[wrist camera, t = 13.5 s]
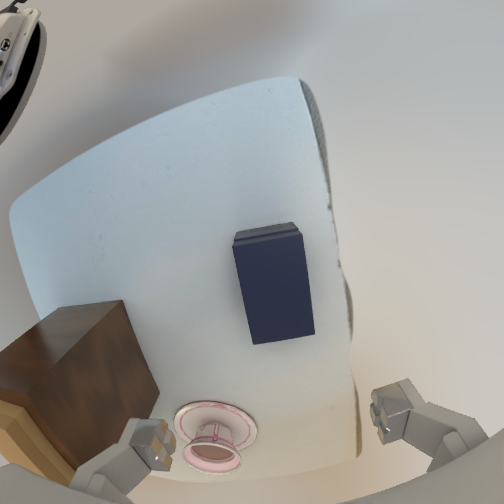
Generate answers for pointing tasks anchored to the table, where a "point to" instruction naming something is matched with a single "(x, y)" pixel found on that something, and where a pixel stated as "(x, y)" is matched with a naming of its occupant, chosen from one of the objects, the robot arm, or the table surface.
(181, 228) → the table surface
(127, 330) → the book stand
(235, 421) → the teacup
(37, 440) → the tan books
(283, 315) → the navy book
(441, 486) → the robot arm
